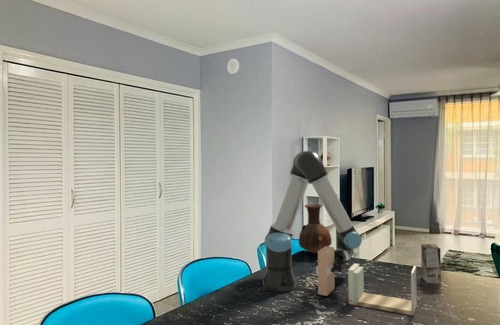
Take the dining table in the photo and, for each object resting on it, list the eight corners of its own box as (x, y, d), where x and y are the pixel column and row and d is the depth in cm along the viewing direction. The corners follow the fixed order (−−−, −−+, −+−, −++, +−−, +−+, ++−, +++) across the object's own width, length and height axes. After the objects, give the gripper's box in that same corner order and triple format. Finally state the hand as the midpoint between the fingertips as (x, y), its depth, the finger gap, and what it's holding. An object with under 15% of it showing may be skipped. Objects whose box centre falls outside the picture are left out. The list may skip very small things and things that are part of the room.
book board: (348, 303, 145) (348, 299, 145) (355, 294, 155) (355, 291, 155) (413, 315, 133) (413, 311, 133) (416, 305, 143) (416, 301, 143)
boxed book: (318, 294, 152) (317, 251, 152) (325, 286, 161) (325, 246, 161) (327, 295, 150) (327, 252, 150) (334, 288, 159) (334, 247, 159)
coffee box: (441, 283, 166) (441, 248, 166) (426, 283, 167) (425, 248, 167) (435, 277, 175) (435, 244, 175) (421, 276, 176) (420, 243, 176)
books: (348, 299, 146) (348, 269, 145) (354, 291, 154) (354, 263, 154) (358, 301, 144) (357, 271, 144) (363, 292, 152) (363, 264, 152)
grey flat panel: (411, 310, 134) (411, 272, 134) (414, 301, 143) (413, 265, 143) (413, 311, 134) (413, 273, 133) (416, 301, 142) (416, 266, 142)
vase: (292, 250, 232) (292, 203, 232) (321, 247, 237) (321, 202, 237) (307, 260, 208) (307, 208, 208) (339, 257, 213) (338, 206, 213)
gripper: (356, 268, 167) (342, 283, 146) (320, 263, 175) (303, 277, 155) (356, 252, 167) (342, 265, 146) (320, 247, 175) (302, 259, 155)
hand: (322, 271), depth 151 cm, fingers closed on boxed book, 4 cm apart
